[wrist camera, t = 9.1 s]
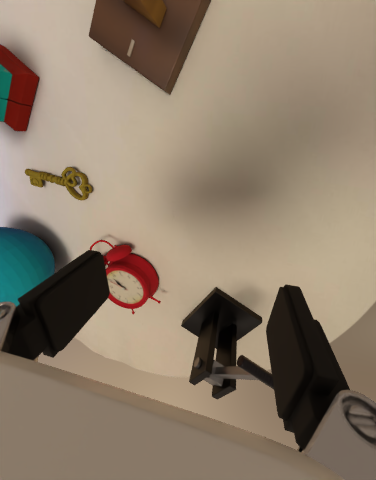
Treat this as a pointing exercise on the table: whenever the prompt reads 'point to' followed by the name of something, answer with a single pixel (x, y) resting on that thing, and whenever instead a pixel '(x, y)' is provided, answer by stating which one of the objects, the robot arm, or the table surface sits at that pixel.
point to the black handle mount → (218, 335)
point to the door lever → (239, 372)
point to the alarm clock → (129, 277)
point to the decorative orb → (22, 263)
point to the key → (62, 181)
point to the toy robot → (16, 90)
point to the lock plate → (149, 36)
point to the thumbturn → (149, 9)
